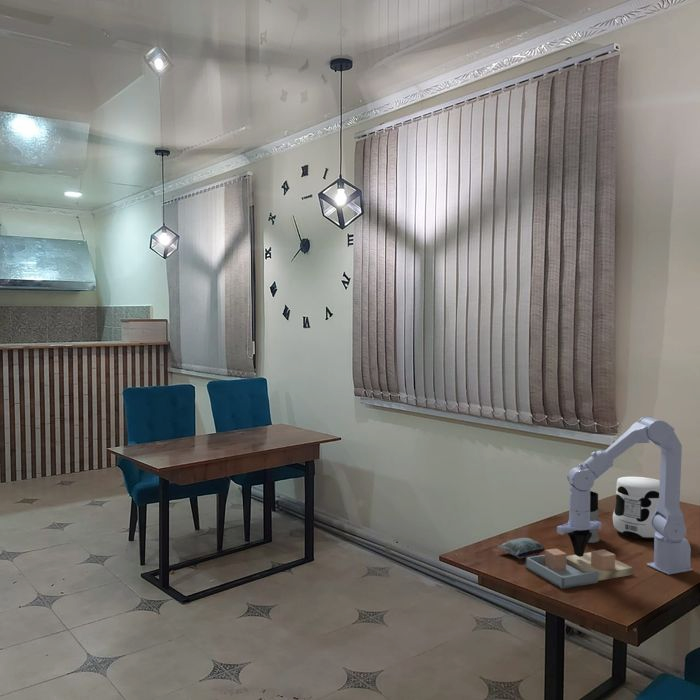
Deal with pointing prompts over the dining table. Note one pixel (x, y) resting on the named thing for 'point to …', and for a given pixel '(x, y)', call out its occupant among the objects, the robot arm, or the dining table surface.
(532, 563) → the tray
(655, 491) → the milk container
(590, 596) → the dining table surface
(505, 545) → the grey green pillow
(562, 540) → the dining table surface
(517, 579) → the dining table surface
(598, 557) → the wooden cube
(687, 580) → the dining table surface
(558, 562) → the wooden cube
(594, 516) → the glass holder
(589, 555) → the board
